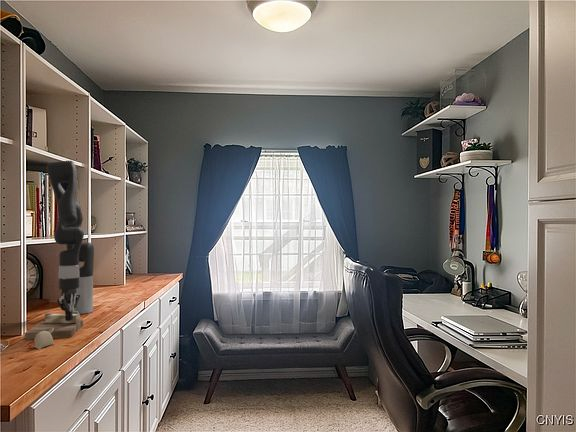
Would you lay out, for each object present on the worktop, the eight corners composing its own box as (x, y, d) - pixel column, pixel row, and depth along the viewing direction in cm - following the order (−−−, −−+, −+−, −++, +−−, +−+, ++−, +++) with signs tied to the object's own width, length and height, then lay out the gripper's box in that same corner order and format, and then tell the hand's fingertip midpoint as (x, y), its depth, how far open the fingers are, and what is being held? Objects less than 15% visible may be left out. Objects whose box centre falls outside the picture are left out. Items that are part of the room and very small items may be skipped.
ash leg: (43, 322, 182) (43, 314, 182) (47, 320, 185) (47, 313, 185) (76, 323, 181) (76, 315, 181) (80, 321, 184) (80, 313, 184)
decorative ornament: (30, 348, 156) (30, 332, 156) (50, 342, 164) (50, 327, 164) (38, 349, 154) (38, 334, 154) (59, 343, 162) (59, 328, 162)
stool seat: (42, 327, 186) (42, 312, 186) (83, 324, 190) (83, 310, 190) (24, 339, 167) (24, 323, 167) (71, 337, 170) (71, 321, 170)
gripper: (69, 275, 187) (69, 317, 186) (50, 278, 174) (49, 323, 173) (86, 275, 186) (86, 317, 186) (69, 278, 173) (68, 323, 173)
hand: (68, 320), depth 179 cm, fingers closed
